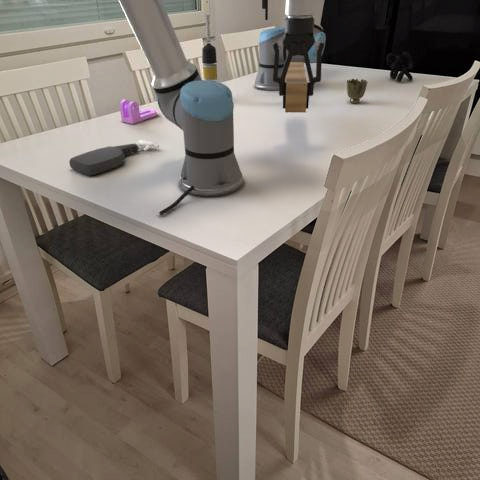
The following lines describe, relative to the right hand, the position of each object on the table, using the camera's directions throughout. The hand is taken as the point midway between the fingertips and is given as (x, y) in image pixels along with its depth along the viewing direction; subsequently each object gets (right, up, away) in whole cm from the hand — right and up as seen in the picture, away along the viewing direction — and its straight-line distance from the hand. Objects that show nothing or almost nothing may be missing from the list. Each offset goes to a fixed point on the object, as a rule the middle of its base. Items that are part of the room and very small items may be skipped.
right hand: (286, 19), depth 153 cm
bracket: (-51, -33, +5) cm, 61 cm away
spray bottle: (-50, -53, -28) cm, 78 cm away
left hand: (0, -38, -26) cm, 46 cm away
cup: (+28, -23, +17) cm, 40 cm away
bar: (+1, -32, -16) cm, 36 cm away
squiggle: (+56, -4, +48) cm, 74 cm away
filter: (-27, -19, +26) cm, 42 cm away
